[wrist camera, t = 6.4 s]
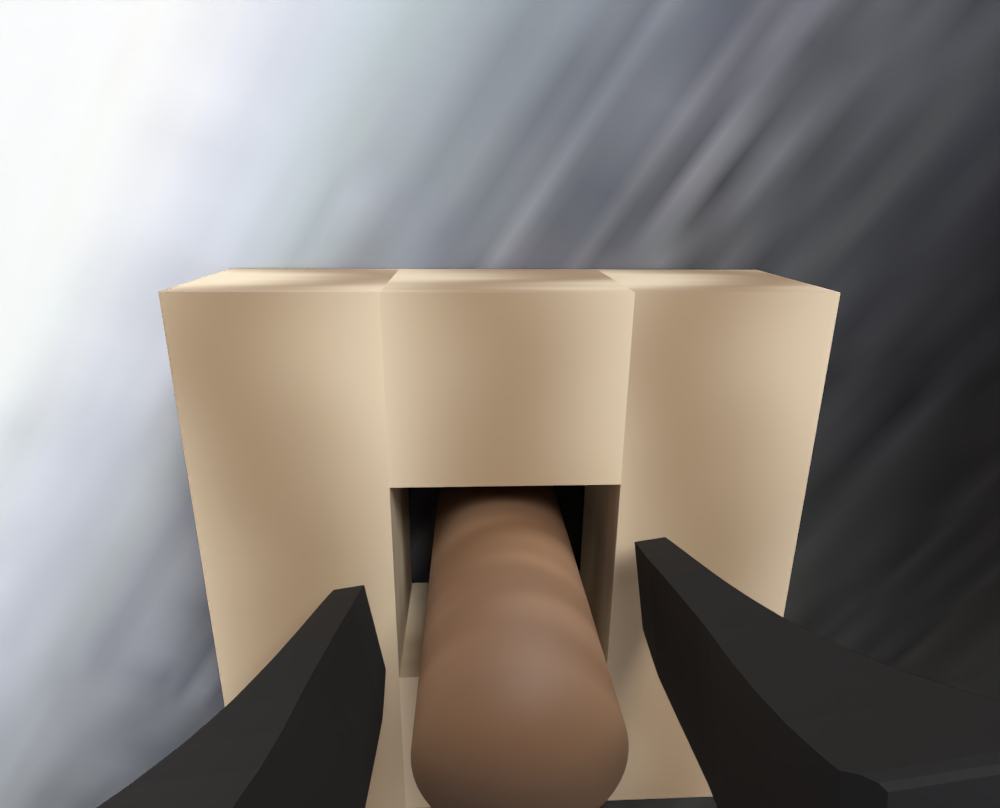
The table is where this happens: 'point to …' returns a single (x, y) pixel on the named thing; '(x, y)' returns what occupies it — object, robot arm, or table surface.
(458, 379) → the holder block
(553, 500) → the peg
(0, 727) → the table surface
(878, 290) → the table surface
